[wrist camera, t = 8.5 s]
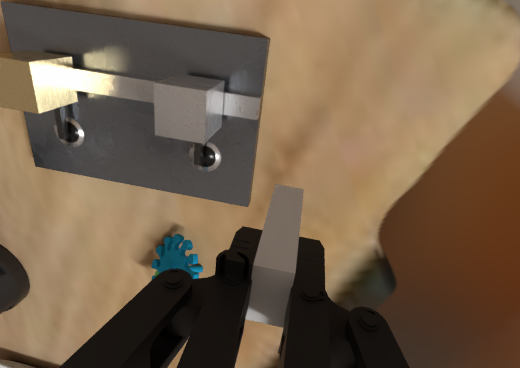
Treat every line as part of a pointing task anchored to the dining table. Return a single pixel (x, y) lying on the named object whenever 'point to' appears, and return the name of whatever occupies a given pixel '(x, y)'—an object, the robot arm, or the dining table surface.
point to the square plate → (13, 364)
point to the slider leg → (188, 109)
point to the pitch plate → (130, 98)
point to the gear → (176, 257)
